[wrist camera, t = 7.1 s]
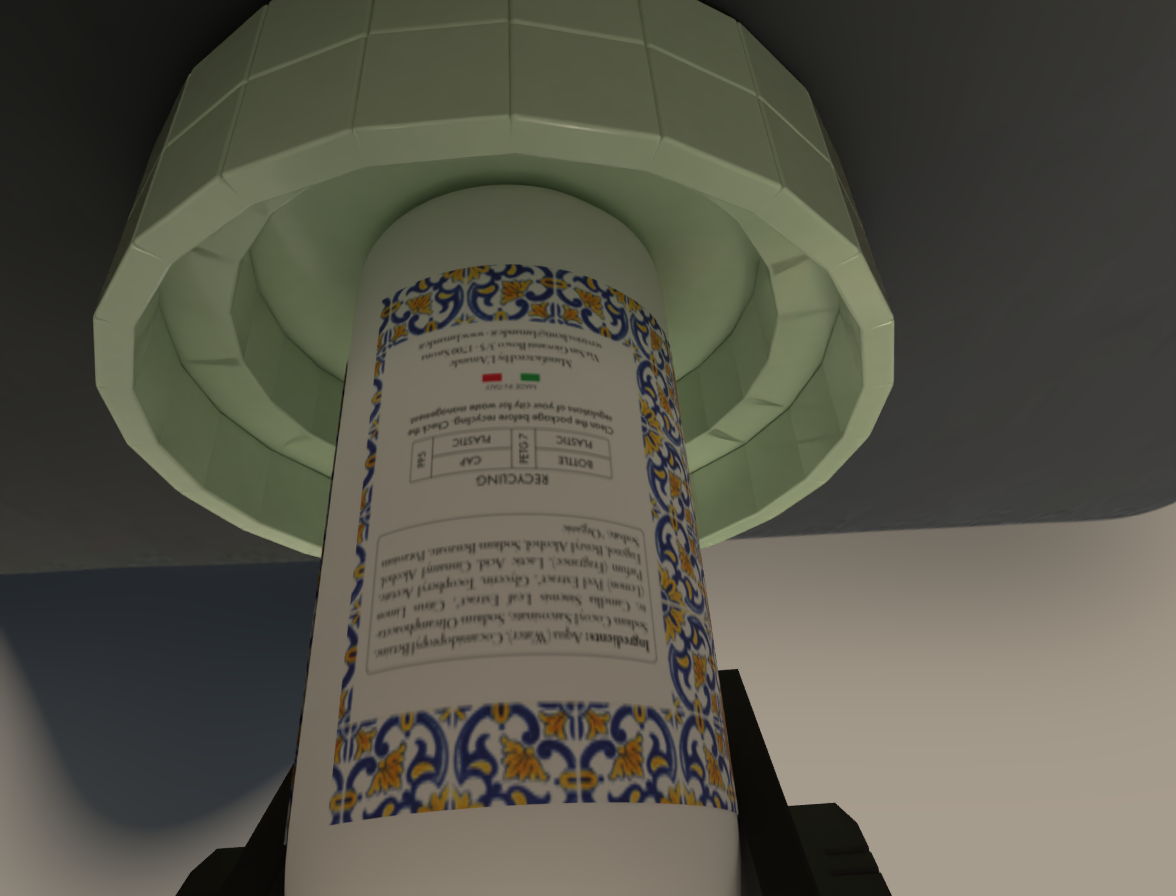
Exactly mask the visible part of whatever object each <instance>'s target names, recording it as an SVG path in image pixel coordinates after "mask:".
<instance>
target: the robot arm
mask: <svg viewBox="0 0 1176 896" xmlns="http://www.w3.org/2000/svg"><path fill="white" fill-rule="evenodd" d="M718 675H719V682H720V688H721V695H722V702H723V709H724V716H725V723H726V730H727V737H728V743H729V750H730V757H731V764H732V771H733V778H734V785H735V792H736V798H737V805H738V812H739V817H738V814H737V819H738V828H739V837H740V855H741V896H892V895H891V893H890V891H889V889H888V887H887V885H886V882H885V880H884V878H883V876H882V874H881V873H879V869H878V866H877V864H876V862H875V859H874V857H873V855H872V853H871V852H870V851H869V847H868V845H867V843H866V841H865V838H864V836H863V835H862V832H861V830H860V828H859V826H858V824H857V823H856V822H855V821H854V820H853V819H852V818H851V817H850V816H849V815H848V814H847V813H846V812H844V811H843V810H842V809H841V808H840V807H839V806H838V805H837V804H836V803H825V804H810V805H797V806H788V805H787V802H786V800H785V797H784V794H783V792H782V789H781V786H780V783H779V781H778V778H777V775H776V772H775V770H774V767H773V764H772V761H771V759H770V756H769V753H768V750H767V748H766V745H765V742H764V739H763V737H762V734H761V731H760V729H759V726H758V723H757V720H756V718H755V715H754V712H753V709H752V707H751V704H750V701H749V698H748V696H747V693H746V690H745V687H744V685H743V682H742V679H741V676H740V674H739V671H738V669H732V670H718ZM293 769H294V764H293V766H292V767H291V769H290V771H289V773H288V774H287V776H286V777H285V779H284V781H283V783H282V785H281V786H280V788H279V790H278V791H277V793H276V795H275V796H274V798H273V800H272V801H271V803H270V805H269V807H268V808H267V810H266V812H265V813H264V815H263V817H262V819H261V820H260V822H259V824H258V825H257V827H256V829H255V831H254V832H253V834H252V836H251V838H250V839H249V841H248V843H247V844H246V846H245V847H236V848H222V849H216V850H215V851H214V852H213V853H212V854H211V855H210V856H208V857H207V858H206V859H205V860H204V861H203V862H202V863H201V864H199V865H198V866H197V867H196V868H195V869H194V870H193V871H192V872H191V873H190V874H189V876H188V877H187V879H186V880H185V882H184V883H183V885H182V887H181V888H180V890H179V891H178V893H177V894H176V896H285V864H286V853H287V846H286V845H285V844H284V839H285V831H286V823H287V816H288V808H289V800H290V793H291V785H292V777H293Z"/></svg>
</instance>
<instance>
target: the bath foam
mask: <svg viewBox="0 0 1176 896" xmlns="http://www.w3.org/2000/svg"><path fill="white" fill-rule="evenodd" d="M737 814H738V817H739V812H738V805H737V798H736V792H735V785H734V778H733V771H732V764H731V757H730V750H729V743H728V737H727V730H726V723H725V716H724V709H723V702H722V695H721V688H720V682H719V675H718V668H717V661H716V654H715V647H714V640H713V633H712V627H711V620H710V613H709V607H708V599H707V592H706V586H705V579H704V572H703V565H702V558H701V551H700V544H699V537H698V530H697V523H696V517H695V510H694V503H693V496H692V489H691V482H690V475H689V468H688V462H687V455H686V448H685V441H684V434H683V427H682V420H681V413H680V407H679V400H678V393H677V386H676V379H675V372H674V365H673V358H672V352H671V348H670V344H669V337H668V330H667V323H666V316H665V309H664V303H663V296H662V290H661V285H660V281H659V277H658V273H657V270H656V268H655V265H654V263H653V261H652V259H651V257H650V255H649V253H648V251H647V250H646V248H645V247H644V245H643V244H642V243H641V241H640V240H639V239H638V238H637V237H636V235H635V234H634V233H633V232H632V231H631V230H630V229H629V228H628V227H626V226H625V225H624V224H623V223H622V222H620V221H619V220H618V219H616V218H615V217H613V216H612V215H610V214H608V213H606V212H605V211H603V210H601V209H599V208H597V207H595V206H593V205H591V204H589V203H587V202H585V201H583V200H581V199H578V198H576V197H574V196H571V195H568V194H565V193H562V192H559V191H556V190H552V189H547V188H542V187H535V186H527V185H487V186H479V187H472V188H467V189H462V190H458V191H455V192H451V193H448V194H445V195H442V196H439V197H436V198H434V199H432V200H429V201H427V202H425V203H423V204H421V205H419V206H417V207H415V208H414V209H412V210H410V211H409V212H407V213H406V214H404V215H403V216H402V217H400V218H399V219H398V220H397V221H395V222H394V223H393V224H392V225H391V226H390V227H389V228H388V229H387V230H386V231H385V232H384V233H383V234H382V235H381V236H380V238H379V239H378V240H377V242H376V243H375V244H374V246H373V247H372V249H371V251H370V253H369V254H368V256H367V259H366V261H365V263H364V266H363V269H362V272H361V276H360V280H359V285H358V291H357V298H356V306H355V314H354V321H353V329H352V337H351V345H350V352H349V360H348V365H347V361H346V369H345V376H344V384H343V392H342V400H341V407H340V415H339V423H338V430H337V438H336V446H335V453H334V461H333V469H332V477H331V484H330V492H329V500H328V507H327V515H326V523H325V531H324V538H323V546H322V554H321V561H320V570H319V578H318V585H317V592H316V600H315V608H314V615H313V623H312V631H311V638H310V646H309V654H308V662H307V669H306V678H305V685H304V692H303V701H302V708H301V715H300V723H299V731H298V739H297V747H296V754H295V762H294V769H293V777H292V785H291V793H290V800H289V808H288V816H287V823H286V831H285V839H284V844H285V845H286V846H287V853H286V864H285V896H741V855H740V837H739V828H738V819H737Z"/></svg>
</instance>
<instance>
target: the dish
mask: <svg viewBox="0 0 1176 896" xmlns="http://www.w3.org/2000/svg"><path fill="white" fill-rule="evenodd" d="M487 185H527V186H535V187H542V188H547V189H552V190H556V191H559V192H562V193H565V194H568V195H571V196H574V197H576V198H578V199H581V200H583V201H585V202H587V203H589V204H591V205H593V206H595V207H597V208H599V209H601V210H603V211H605V212H606V213H608V214H610V215H612V216H613V217H615V218H616V219H618V220H619V221H620V222H622V223H623V224H624V225H625V226H626V227H628V228H629V229H630V230H631V231H632V232H633V233H634V234H635V235H636V237H637V238H638V239H639V240H640V241H641V243H642V244H643V245H644V247H645V248H646V250H647V251H648V253H649V255H650V257H651V259H652V261H653V263H654V265H655V268H656V270H657V273H658V277H659V281H660V285H661V290H662V296H663V303H664V309H665V316H666V323H667V330H668V337H669V344H670V348H671V352H672V358H673V365H674V372H675V379H676V386H677V393H678V400H679V407H680V413H681V420H682V427H683V434H684V441H685V448H686V455H687V462H688V468H689V475H690V482H691V489H692V496H693V503H694V510H695V517H696V523H697V530H698V537H699V544H700V549H702V548H706V547H709V546H712V545H714V544H718V543H720V542H722V541H724V540H727V539H729V538H731V537H733V536H735V535H738V534H740V533H742V532H744V531H746V530H749V529H751V528H753V527H755V526H757V525H760V524H762V523H764V522H766V521H768V520H770V519H772V518H773V517H776V516H778V515H779V514H781V513H782V512H783V511H785V510H786V509H788V508H789V507H791V506H792V505H794V504H795V503H797V502H798V501H800V500H801V499H803V498H804V497H806V496H807V495H809V494H810V493H812V492H813V491H814V490H816V489H817V488H819V487H820V486H822V485H823V484H825V482H826V481H828V480H829V479H830V478H831V477H832V476H833V475H834V474H835V473H836V472H837V471H838V470H839V468H840V467H841V466H842V465H843V464H844V463H845V462H846V461H847V460H848V459H849V458H850V457H851V456H852V455H853V453H854V452H855V451H856V450H857V449H858V448H859V447H860V446H861V445H862V444H863V443H864V442H865V441H866V440H867V437H869V436H870V434H871V431H872V429H873V427H874V425H875V423H876V421H877V418H878V416H879V414H880V412H881V410H882V408H883V406H884V403H885V401H886V399H887V397H888V395H889V393H890V391H891V388H892V386H893V381H894V334H895V320H894V317H893V316H894V315H893V312H892V310H891V307H890V304H889V301H888V298H887V295H886V292H885V289H884V286H883V283H882V280H881V278H880V275H879V272H878V269H877V266H876V263H875V260H874V257H873V254H872V251H871V249H870V246H869V243H868V240H867V237H866V235H865V231H864V228H863V225H862V222H861V219H860V216H859V213H858V210H857V208H856V205H855V202H854V199H853V196H852V193H851V190H850V187H849V184H848V181H847V179H846V176H845V173H844V170H843V167H842V164H841V161H840V159H839V157H838V155H837V153H836V151H835V148H834V146H833V144H832V142H831V140H830V138H829V135H828V133H827V131H826V129H825V127H824V125H823V122H822V120H821V118H820V116H819V114H818V112H817V110H816V107H815V105H814V103H813V101H812V99H811V97H810V94H809V92H808V91H806V88H805V87H804V86H803V85H802V84H801V83H800V82H799V81H798V80H797V79H796V78H795V77H794V76H793V75H792V74H791V73H790V72H789V71H788V70H787V69H786V68H785V67H784V66H783V65H782V64H781V63H780V62H779V61H778V60H777V59H776V58H775V57H774V56H773V55H772V54H771V53H770V52H769V51H768V50H767V49H766V48H765V47H764V46H763V45H762V44H761V43H760V42H759V41H758V40H757V39H756V38H755V37H754V36H753V35H752V34H751V33H750V32H749V31H748V30H747V29H746V28H745V27H744V26H743V25H742V24H741V23H739V22H736V20H735V19H733V18H731V17H729V16H727V15H725V14H723V13H721V12H719V11H717V10H715V9H713V8H711V7H709V6H707V5H705V4H703V3H701V2H699V1H697V0H272V1H270V2H269V4H267V5H264V6H263V7H262V8H261V9H259V10H258V11H257V12H256V13H255V14H254V15H253V16H252V17H250V18H249V19H248V20H247V21H246V22H245V23H244V24H243V25H241V26H240V27H239V28H238V29H237V30H236V31H235V32H234V33H232V34H231V35H230V36H229V37H228V38H227V39H226V40H225V41H223V42H222V43H221V44H220V45H219V46H218V47H217V48H216V49H214V50H213V51H212V52H211V53H210V54H209V55H208V56H207V57H206V58H204V59H203V60H202V61H201V62H200V63H199V64H198V65H197V66H195V67H194V68H193V70H192V73H191V74H189V75H188V77H187V79H186V81H185V83H184V85H183V87H182V89H181V91H180V93H179V95H178V97H177V99H176V101H175V103H174V106H173V108H172V110H171V112H170V114H169V116H168V118H167V120H166V122H165V124H164V126H163V128H162V130H161V132H160V134H159V136H158V138H157V140H156V143H155V145H154V147H153V150H152V152H151V155H150V158H149V161H148V164H147V166H146V169H145V172H144V175H143V178H142V180H141V183H140V186H139V189H138V192H137V194H136V197H135V200H134V203H133V206H132V208H131V211H130V214H129V217H128V221H127V223H126V225H125V228H124V231H123V233H122V236H121V239H120V242H119V244H118V247H117V250H116V253H115V256H114V258H113V261H112V264H111V267H110V270H109V272H108V275H107V278H106V281H105V284H104V286H103V289H102V292H101V295H100V298H99V300H98V303H97V306H96V309H95V312H94V315H93V336H94V360H95V384H96V386H97V389H98V391H99V393H100V395H101V397H102V399H103V400H104V402H105V404H106V406H107V408H108V410H109V412H110V413H111V415H112V417H113V419H114V421H115V423H116V424H117V426H118V428H119V430H120V432H121V434H122V435H123V437H124V439H125V441H126V443H127V444H128V445H130V447H131V448H132V449H133V450H134V451H135V452H136V453H137V454H138V455H139V456H140V457H141V458H142V459H143V460H145V461H146V462H147V463H148V464H149V465H150V466H151V467H152V468H153V469H154V470H155V471H156V472H157V473H158V474H160V475H161V476H162V477H163V478H164V479H165V480H166V481H167V482H168V483H169V484H170V485H171V486H172V487H173V488H174V489H176V490H177V491H178V492H180V493H181V494H182V495H184V496H185V497H187V498H189V499H191V500H192V501H194V502H196V503H197V504H199V505H201V506H202V507H204V508H206V509H208V510H209V511H211V512H213V513H214V514H216V515H218V516H220V517H221V518H223V519H225V520H226V521H228V522H230V523H231V524H233V525H235V526H237V527H238V528H241V529H242V530H245V531H247V532H250V533H253V534H255V535H258V536H260V537H263V538H266V539H268V540H271V541H273V542H276V543H279V544H281V545H284V546H286V547H289V548H292V549H294V550H297V551H299V552H302V553H305V554H309V555H312V556H316V557H320V558H321V554H322V546H323V538H324V531H325V523H326V515H327V507H328V500H329V492H330V484H331V477H332V469H333V461H334V453H335V446H336V438H337V430H338V423H339V415H340V407H341V400H342V392H343V384H344V376H345V369H346V361H347V365H348V360H349V352H350V345H351V337H352V329H353V321H354V314H355V306H356V298H357V291H358V285H359V280H360V276H361V272H362V269H363V266H364V263H365V261H366V259H367V256H368V254H369V253H370V251H371V249H372V247H373V246H374V244H375V243H376V242H377V240H378V239H379V238H380V236H381V235H382V234H383V233H384V232H385V231H386V230H387V229H388V228H389V227H390V226H391V225H392V224H393V223H394V222H395V221H397V220H398V219H399V218H400V217H402V216H403V215H404V214H406V213H407V212H409V211H410V210H412V209H414V208H415V207H417V206H419V205H421V204H423V203H425V202H427V201H429V200H432V199H434V198H436V197H439V196H442V195H445V194H448V193H451V192H455V191H458V190H462V189H467V188H472V187H479V186H487Z"/></svg>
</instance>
